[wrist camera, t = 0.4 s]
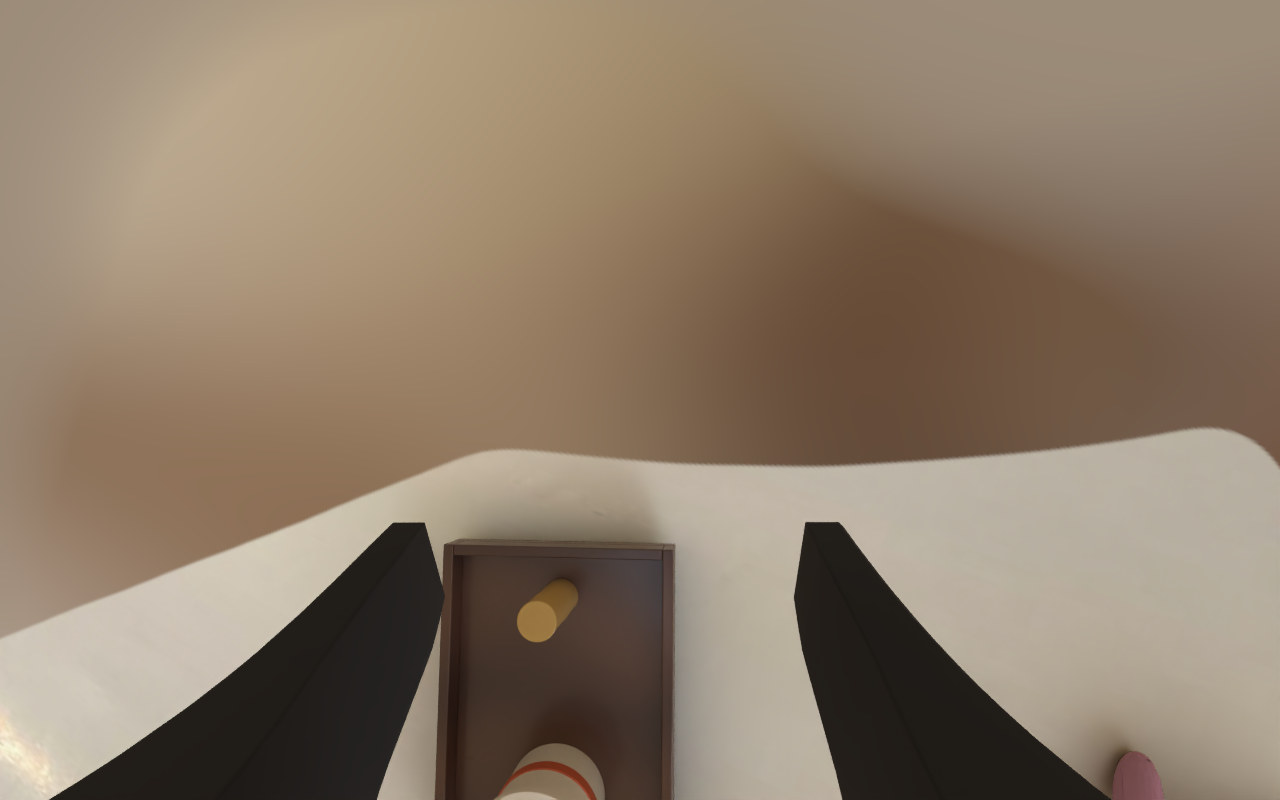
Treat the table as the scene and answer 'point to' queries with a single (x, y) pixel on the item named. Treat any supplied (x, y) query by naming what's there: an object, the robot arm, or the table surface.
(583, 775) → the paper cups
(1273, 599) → the table surface
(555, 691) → the tray
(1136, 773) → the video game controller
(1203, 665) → the table surface
